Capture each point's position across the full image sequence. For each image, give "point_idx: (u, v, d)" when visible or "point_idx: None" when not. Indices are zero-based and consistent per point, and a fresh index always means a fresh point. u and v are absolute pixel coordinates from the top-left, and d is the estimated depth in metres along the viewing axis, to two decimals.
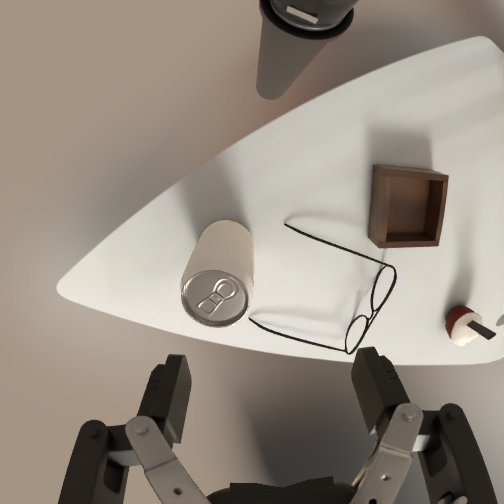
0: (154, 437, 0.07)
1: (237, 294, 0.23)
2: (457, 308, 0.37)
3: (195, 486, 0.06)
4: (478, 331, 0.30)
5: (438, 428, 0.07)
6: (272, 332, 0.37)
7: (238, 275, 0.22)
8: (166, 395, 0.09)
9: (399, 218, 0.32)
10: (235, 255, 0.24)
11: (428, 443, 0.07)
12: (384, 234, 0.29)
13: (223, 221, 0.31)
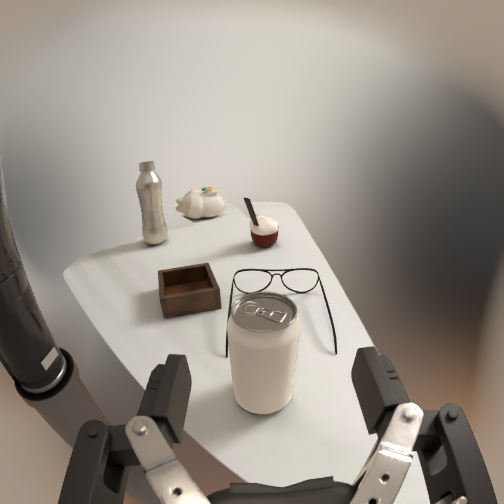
0: (154, 437, 0.07)
1: (252, 301, 0.25)
2: (256, 242, 0.63)
3: (195, 486, 0.06)
4: (252, 212, 0.59)
5: (438, 428, 0.07)
6: (333, 326, 0.36)
7: (235, 306, 0.25)
8: (166, 395, 0.09)
9: None
10: None
11: (428, 443, 0.07)
12: (207, 289, 0.42)
13: (234, 395, 0.27)
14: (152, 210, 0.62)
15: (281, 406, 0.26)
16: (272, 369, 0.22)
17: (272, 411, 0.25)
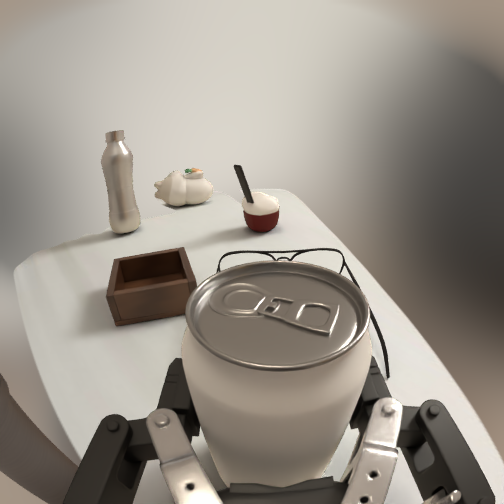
0: (177, 429, 0.08)
1: (246, 283, 0.10)
2: (251, 226, 0.48)
3: (209, 483, 0.06)
4: (245, 183, 0.44)
5: (419, 424, 0.07)
6: (380, 333, 0.21)
7: None
8: (186, 388, 0.10)
9: None
10: None
11: (410, 439, 0.08)
12: (178, 281, 0.27)
13: None
14: (119, 189, 0.47)
15: None
16: (304, 452, 0.07)
17: None
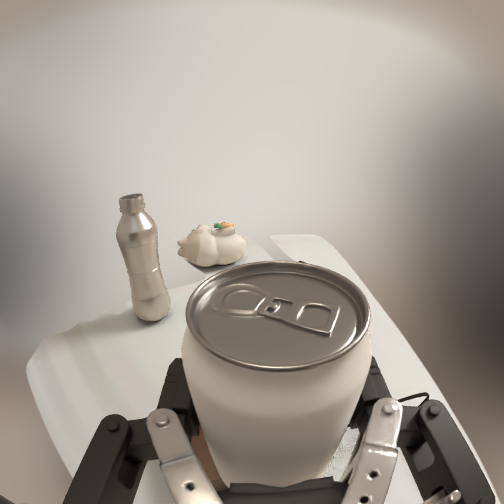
0: (177, 429, 0.08)
1: (246, 283, 0.10)
2: None
3: (209, 483, 0.06)
4: None
5: (419, 425, 0.07)
6: None
7: None
8: (186, 388, 0.10)
9: None
10: None
11: (410, 439, 0.08)
12: None
13: None
14: (144, 273, 0.39)
15: None
16: (304, 452, 0.07)
17: None
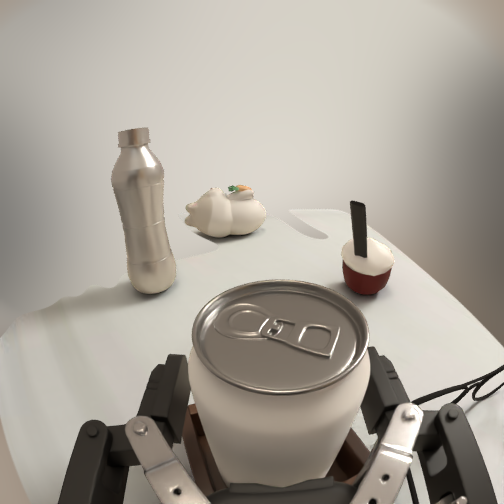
0: (154, 437, 0.07)
1: (250, 303, 0.10)
2: (355, 288, 0.31)
3: (195, 486, 0.06)
4: (364, 231, 0.27)
5: (438, 428, 0.07)
6: None
7: (209, 317, 0.10)
8: (166, 395, 0.09)
9: None
10: None
11: (428, 443, 0.07)
12: None
13: None
14: (144, 227, 0.30)
15: None
16: (304, 463, 0.07)
17: None
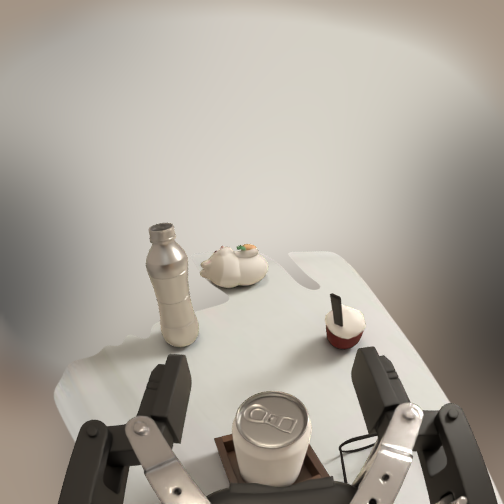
0: (154, 437, 0.07)
1: (259, 404, 0.20)
2: (334, 345, 0.41)
3: (195, 486, 0.06)
4: (340, 312, 0.37)
5: (438, 428, 0.07)
6: None
7: (240, 410, 0.20)
8: (166, 395, 0.09)
9: None
10: None
11: (428, 443, 0.07)
12: None
13: (241, 475, 0.22)
14: (175, 303, 0.40)
15: (289, 485, 0.21)
16: (281, 469, 0.17)
17: None
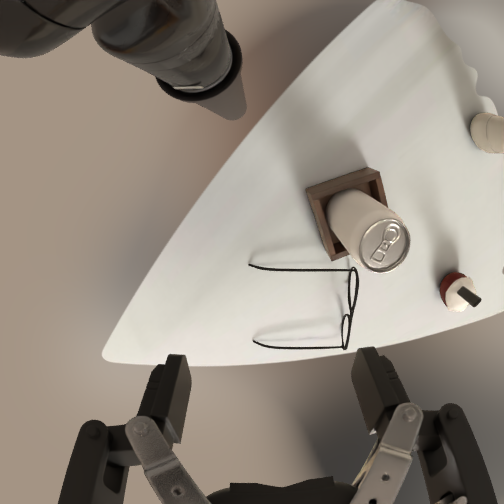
0: (154, 437, 0.07)
1: (400, 236, 0.24)
2: (447, 277, 0.39)
3: (195, 486, 0.06)
4: (465, 298, 0.32)
5: (438, 428, 0.07)
6: None
7: (397, 219, 0.24)
8: (166, 395, 0.09)
9: None
10: (384, 206, 0.26)
11: (428, 443, 0.07)
12: (332, 248, 0.34)
13: (343, 190, 0.33)
14: None
15: (330, 227, 0.35)
16: (342, 239, 0.28)
17: None
